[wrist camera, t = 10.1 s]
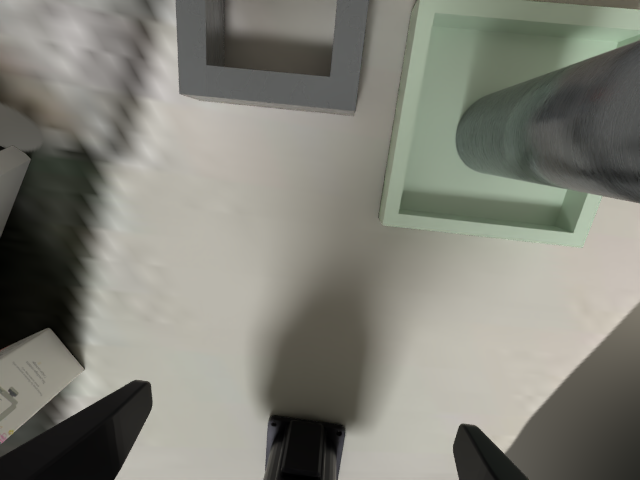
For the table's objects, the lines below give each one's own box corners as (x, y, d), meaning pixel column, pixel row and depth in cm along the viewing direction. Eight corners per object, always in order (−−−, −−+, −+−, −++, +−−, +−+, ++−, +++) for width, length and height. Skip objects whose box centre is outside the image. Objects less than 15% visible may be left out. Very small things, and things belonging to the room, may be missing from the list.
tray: (556, 237, 20) (582, 247, 17) (378, 217, 20) (382, 225, 18) (629, 30, 16) (673, 12, 14) (411, 11, 16) (421, -9, 14)
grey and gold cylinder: (501, 200, 18) (1040, 382, 4) (426, 151, 18) (752, 170, 4) (569, 116, 17) (1826, -55, 3) (489, 59, 16) (1508, -544, 2)
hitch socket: (353, 115, 18) (355, 111, 16) (200, 100, 19) (179, 93, 16) (377, -84, 15) (384, -127, 13) (196, -98, 16) (170, -141, 13)
